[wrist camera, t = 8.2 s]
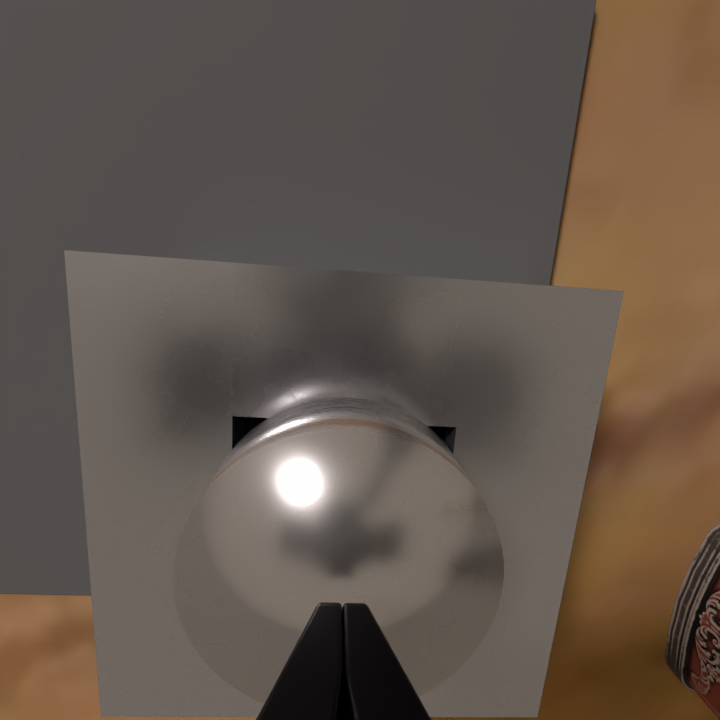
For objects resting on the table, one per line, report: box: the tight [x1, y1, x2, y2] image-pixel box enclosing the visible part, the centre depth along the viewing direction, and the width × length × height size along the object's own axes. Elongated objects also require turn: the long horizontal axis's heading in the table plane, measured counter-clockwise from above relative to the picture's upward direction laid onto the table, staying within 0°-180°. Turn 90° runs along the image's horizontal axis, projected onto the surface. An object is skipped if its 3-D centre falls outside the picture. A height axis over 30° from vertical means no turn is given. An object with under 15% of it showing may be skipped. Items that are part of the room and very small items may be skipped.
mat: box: [0, 0, 596, 596], centre depth 13 cm, size 22×22×1 cm
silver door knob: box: [173, 398, 504, 704], centre depth 11 cm, size 6×6×6 cm
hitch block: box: [64, 250, 624, 717], centre depth 12 cm, size 12×12×5 cm
